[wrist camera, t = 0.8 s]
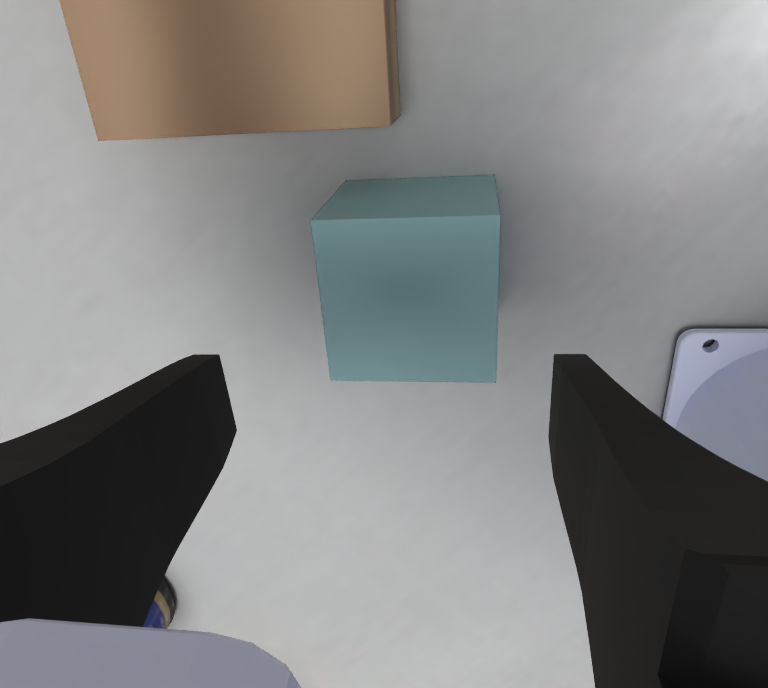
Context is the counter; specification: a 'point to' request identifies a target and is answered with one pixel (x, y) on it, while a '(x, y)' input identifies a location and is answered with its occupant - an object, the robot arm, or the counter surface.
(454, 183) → the teal cube
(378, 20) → the walnut block
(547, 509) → the counter surface
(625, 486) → the robot arm
